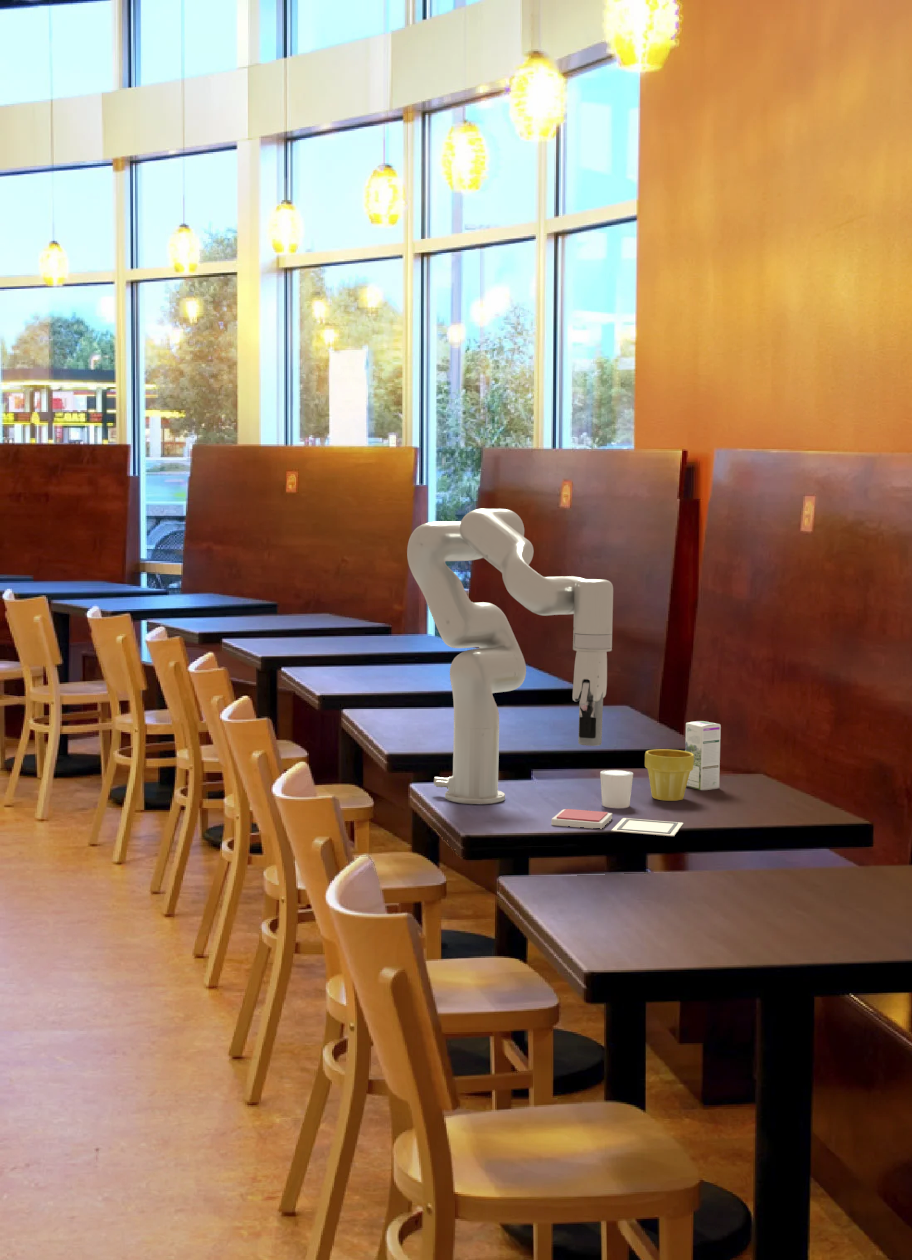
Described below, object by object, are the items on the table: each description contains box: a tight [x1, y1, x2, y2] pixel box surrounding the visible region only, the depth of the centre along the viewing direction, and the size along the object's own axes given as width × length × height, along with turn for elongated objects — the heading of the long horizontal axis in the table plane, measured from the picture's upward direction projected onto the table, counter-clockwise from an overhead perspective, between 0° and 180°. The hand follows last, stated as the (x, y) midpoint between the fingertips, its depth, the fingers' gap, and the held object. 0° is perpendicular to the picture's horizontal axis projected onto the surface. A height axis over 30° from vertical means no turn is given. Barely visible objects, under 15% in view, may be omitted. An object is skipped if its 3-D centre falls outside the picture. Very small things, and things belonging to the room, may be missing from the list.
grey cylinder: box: [577, 693, 604, 747], centre depth 298 cm, size 4×4×10 cm
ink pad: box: [550, 808, 613, 830], centre depth 300 cm, size 10×10×2 cm
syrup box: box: [684, 720, 722, 791], centre depth 339 cm, size 6×6×14 cm
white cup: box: [599, 769, 634, 809], centre depth 318 cm, size 7×7×7 cm
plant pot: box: [644, 748, 694, 802], centre depth 326 cm, size 10×10×10 cm
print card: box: [610, 817, 684, 837], centre depth 297 cm, size 12×12×1 cm
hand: (590, 735), depth 299 cm, fingers closed on grey cylinder, 4 cm apart
